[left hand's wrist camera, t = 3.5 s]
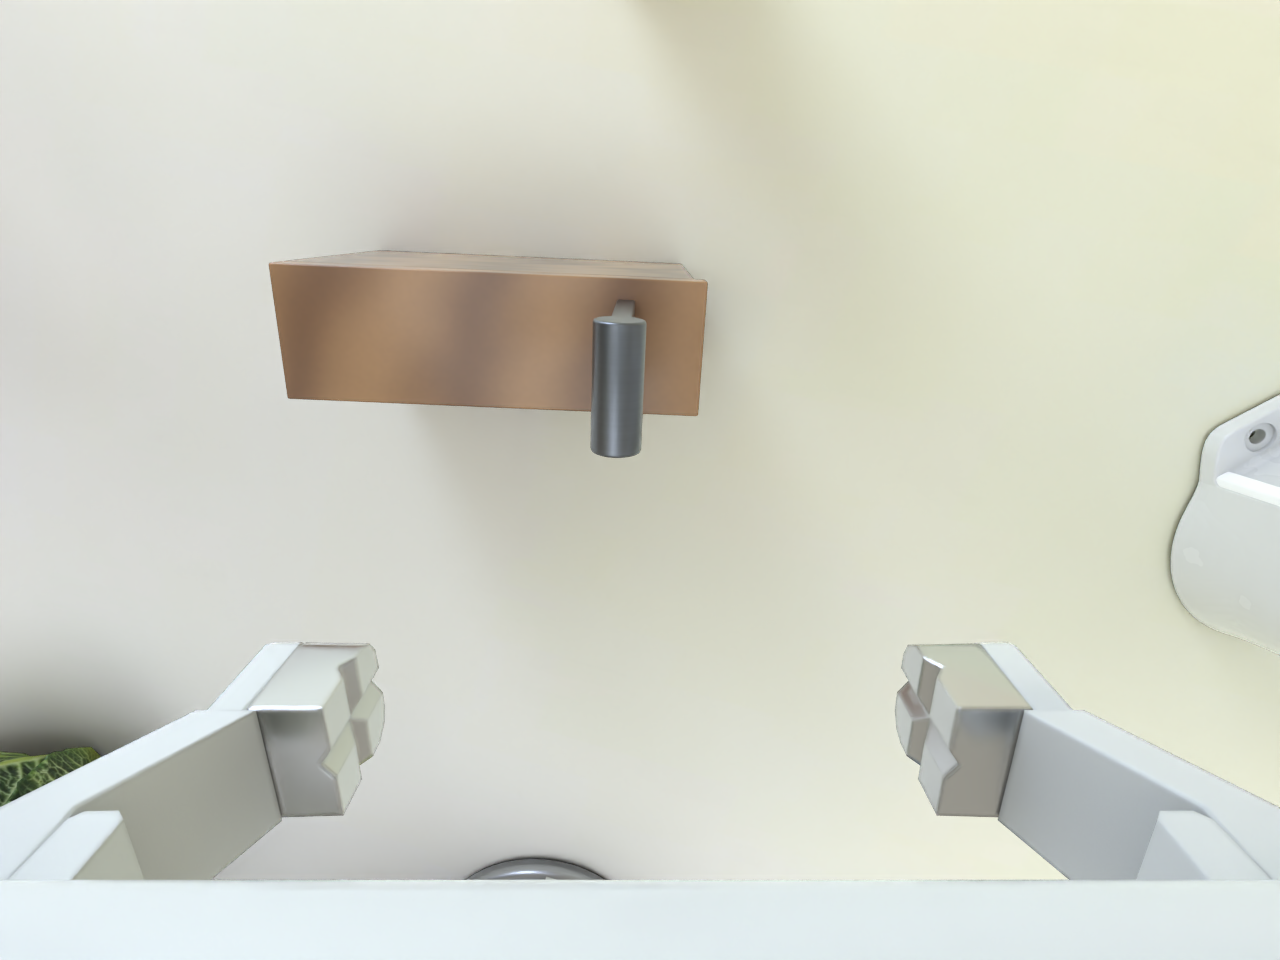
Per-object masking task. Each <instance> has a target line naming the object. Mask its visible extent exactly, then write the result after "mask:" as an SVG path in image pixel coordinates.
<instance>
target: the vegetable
mask: <svg viewBox="0 0 1280 960" xmlns="http://www.w3.org/2000/svg"><path fill="white" fill-rule="evenodd" d="M98 758H101V756H100V755H99V754H98V753H97V752H96V751H95V750H94V749H93V748H92V747H80V748H70V749H65V750H63V751H57V752H53V753H51V754H47V755H39V756H30V755H28V754H25V753H15V752H0V807H2V806H4V805H6V804H8V803H10V802H12V801H14V800H16V799H18V798H20V797H22V796H24V795H26V794H28V793H30V792H32V791H34V790H36V789H38V788H40V787H42V786H44V785H46V784H48V783H50V782H52V781H54V780H56V779H58V778H60V777H62V776H64V775H66V774H68V773H70V772H72V771H74V770H76V769H78V768H80V767H82V766H84V765H86V764H88V763H90V762H92V761H94V760H96V759H98Z"/></svg>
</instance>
